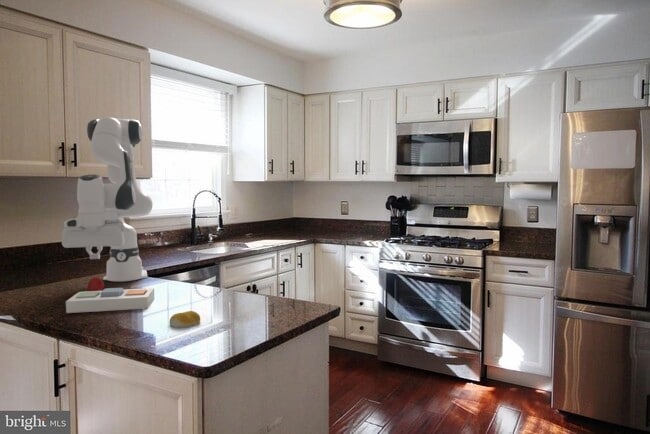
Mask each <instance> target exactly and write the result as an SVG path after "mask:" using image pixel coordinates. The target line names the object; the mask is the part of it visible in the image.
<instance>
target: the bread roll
mask: <svg viewBox="0 0 650 434" xmlns="http://www.w3.org/2000/svg"><path fill="white" fill-rule="evenodd" d="M200 322H201V315H200V314H199V313H198V312H197V311H194V310H189V311H188V310H187V311H185V312H177V313H175V314H173V315H172V316H171V317H170V318H169V325H170V327H172V326H173V328H176V329H177V328H178V329H181V328H188V327H192V326H196V325H199V324H198V323H200ZM195 324H196V325H195Z"/></svg>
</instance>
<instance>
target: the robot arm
mask: <svg viewBox="0 0 650 434" xmlns="http://www.w3.org/2000/svg"><path fill="white" fill-rule="evenodd" d="M86 127H87V128H86V135H87V138H88V140H89V141H90V142H91V143H90V150H91V153H92V155H93V157H95V158H96V159H97V160H98V161H100V162H102V163H103V164H107V178H108V180H109V181H110V182H111V183H104V181H103V177H102V176H101V175H99V174H84V175H81V176H79V177H78V179H77V187H76V198H77V199H76V200H77V204H78V211H77V216H75V217H73V218H70V219H67V220H65V221H64V222H63V226H64V228H63V230H62V232H61V245H62V247H64V249H67V248H68V249H70V248H71V249H72V248H85V250H86V253H87V254H88V255H89V260H100V259H101V252H102V251H103V247H110V249H109V259H108V260H106V275H105V276H103V278H102V281H103V280H104V281H110V282H131V281H136V280H141V279H146V278H147V279H148V272H147V270H145V267H144V266H143V265H142V264H143V263H142V258H140V253H139V251H140V250H139V246H138V234H137V233H138V232H137V230H136V229H135V228H134V227H133V226H131V225H129V224H127V223H126V222H125V221H124V218H140V217H144V216H148V215H149V214H150V213H151V212H152V209H153V200H152V199H151V196H149V194H147V192H144V191H143V190H142V188H141V187H140V186H139V184H138V182H137V178H136V170H135V156H134V148H135V147H136V145H138V144H139V143H140V142H141V141H142V139H143V135H144V130H143V127H142V125H141V123H140V121H139V120H136V119H132V118H129V119H127V118H117V117H116V118H115V117H109V116H107V117H102V118H100V119H99V118H95V119H92V120H90V121H89V122H88V123H87V126H86ZM94 247H96V250H97V252H96V253H94V252H93V251H92V249H93V248H94Z"/></svg>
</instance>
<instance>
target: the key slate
mask: <svg viewBox="0 0 650 434" xmlns="http://www.w3.org/2000/svg"><path fill="white" fill-rule="evenodd" d="M123 290H124V287H110V288H109V287H107V288H105V287H104V289H103V291H102V292H101V297H113V296H121V295H122V294H123Z"/></svg>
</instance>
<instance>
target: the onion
mask: <svg viewBox="0 0 650 434" xmlns="http://www.w3.org/2000/svg"><path fill="white" fill-rule="evenodd" d="M86 289H87V291H103V290H104V289H105V283H104V281H103V279H101V278H100V277H98V275H97V274H95V275H94V277H92V278H91V279H90V280H89V281H88V283H87V288H86Z"/></svg>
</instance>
